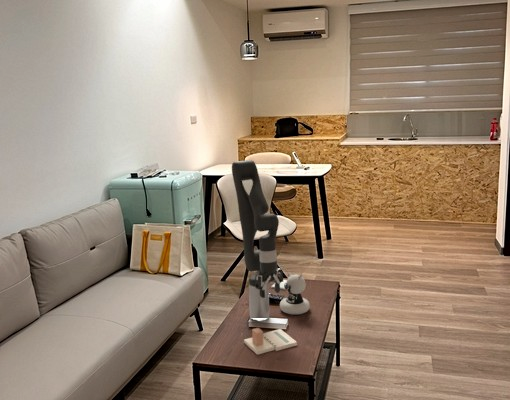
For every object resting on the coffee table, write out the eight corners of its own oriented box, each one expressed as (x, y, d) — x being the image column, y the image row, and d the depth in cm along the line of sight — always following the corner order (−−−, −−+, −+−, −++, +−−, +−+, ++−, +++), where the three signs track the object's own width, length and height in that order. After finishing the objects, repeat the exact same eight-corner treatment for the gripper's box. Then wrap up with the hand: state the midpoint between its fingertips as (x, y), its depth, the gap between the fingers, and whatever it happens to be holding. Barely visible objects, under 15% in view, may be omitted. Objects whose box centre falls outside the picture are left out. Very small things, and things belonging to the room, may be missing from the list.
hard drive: (284, 288, 284) (293, 280, 295) (270, 286, 288) (279, 278, 299) (284, 291, 285) (293, 283, 296) (270, 289, 288) (279, 281, 299)
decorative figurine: (273, 309, 262) (273, 270, 257) (295, 301, 270) (295, 264, 266) (293, 319, 250) (293, 279, 246) (316, 310, 259) (316, 271, 254)
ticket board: (260, 337, 233) (260, 333, 232) (280, 332, 237) (280, 328, 237) (276, 350, 221) (276, 347, 220) (296, 345, 225) (296, 341, 225)
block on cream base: (244, 342, 228) (243, 326, 227) (260, 338, 232) (260, 322, 230) (257, 354, 218) (256, 338, 216) (274, 350, 221) (273, 333, 220)
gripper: (274, 254, 238) (276, 288, 241) (250, 261, 229) (252, 297, 232) (286, 257, 233) (287, 292, 236) (261, 264, 224) (263, 301, 227)
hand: (270, 294), depth 234 cm, fingers open, 8 cm apart
